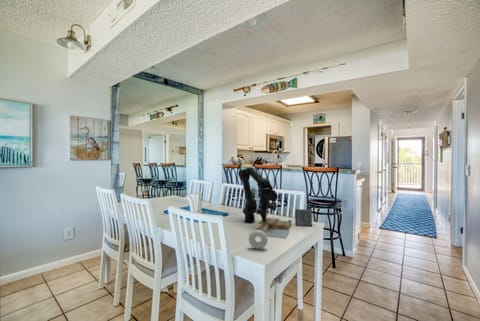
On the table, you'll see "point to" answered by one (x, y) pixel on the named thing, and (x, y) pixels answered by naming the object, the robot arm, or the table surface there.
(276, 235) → the mat
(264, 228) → the maple tile
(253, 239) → the donut
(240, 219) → the table surface
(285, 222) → the sage tile
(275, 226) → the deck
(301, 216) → the small box
